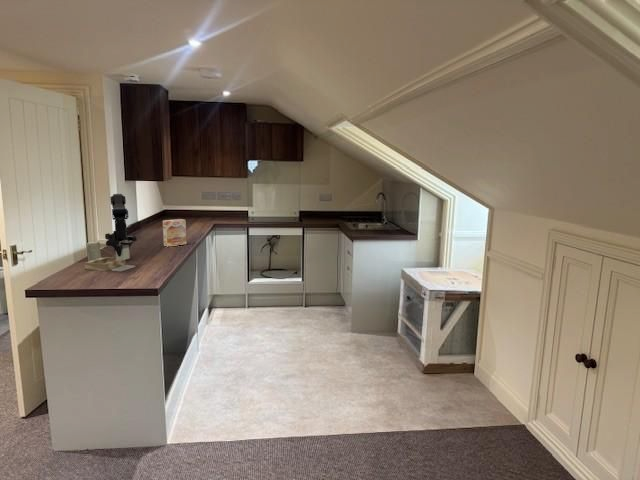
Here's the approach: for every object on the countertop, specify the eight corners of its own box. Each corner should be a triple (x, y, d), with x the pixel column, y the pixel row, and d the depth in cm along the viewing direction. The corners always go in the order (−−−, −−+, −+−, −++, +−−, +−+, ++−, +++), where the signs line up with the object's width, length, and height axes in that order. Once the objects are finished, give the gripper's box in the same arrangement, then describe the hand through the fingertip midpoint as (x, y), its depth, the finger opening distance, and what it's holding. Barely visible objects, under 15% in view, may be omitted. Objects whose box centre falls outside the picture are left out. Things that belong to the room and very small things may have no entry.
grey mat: (126, 266, 255) (126, 265, 255) (135, 266, 254) (135, 265, 253) (111, 270, 244) (111, 269, 244) (121, 271, 242) (121, 270, 242)
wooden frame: (105, 263, 261) (104, 257, 261) (125, 265, 257) (125, 258, 257) (85, 269, 246) (84, 262, 246) (106, 271, 243) (105, 264, 242)
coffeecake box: (167, 248, 311) (165, 221, 308) (163, 246, 316) (162, 220, 313) (187, 245, 321) (185, 219, 317) (183, 244, 326) (181, 218, 323)
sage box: (122, 257, 251) (121, 244, 249) (129, 258, 250) (128, 244, 248) (116, 259, 246) (115, 245, 245) (123, 260, 245) (122, 246, 243)
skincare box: (101, 261, 268) (100, 241, 266) (98, 262, 264) (96, 243, 262) (91, 261, 268) (89, 241, 266) (87, 262, 264) (85, 243, 262)
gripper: (120, 225, 256) (122, 251, 258) (96, 230, 238) (98, 258, 241) (136, 226, 253) (138, 252, 256) (113, 231, 235) (115, 259, 238)
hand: (122, 255), depth 247 cm, fingers closed on sage box, 5 cm apart
